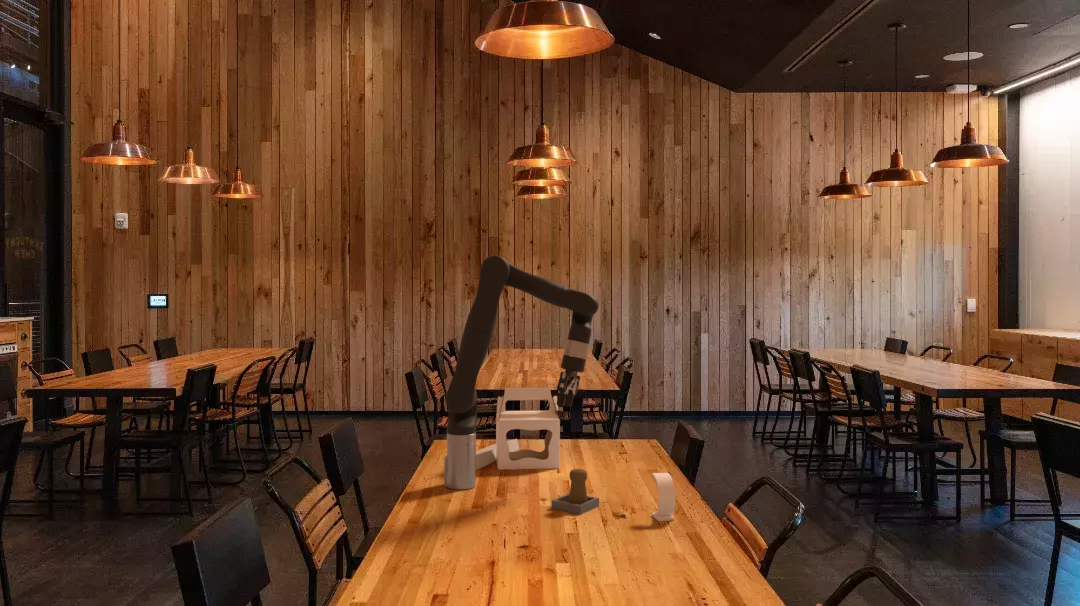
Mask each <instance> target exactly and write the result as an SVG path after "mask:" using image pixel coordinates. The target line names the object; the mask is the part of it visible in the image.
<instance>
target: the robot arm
mask: <svg viewBox="0 0 1080 606" xmlns="http://www.w3.org/2000/svg"><path fill="white" fill-rule="evenodd" d="M478 280H479V281H478V285H477V289H476V296H475V298H474V301H473V303H472V305H471V308H470V309H469V313H468V315H467V319H466V322H465V325H464V328H463V333H462V336H461V342H460V344H459V345H460V346H459V350H458V355H457V360H456V361H457V362H456V366H455V368H454V369H455V370H454V372H453V376H452V378H451V380H450V384H449V386H448V389H447V391H446V394H445V403H446V407H447V408H448V418H447V422H446V423H447V424H446V456H444V459H443V460H444V461H443V462H444V463H443V464H444V465H443V467H444V468H443V471H444V472H443V473H444V474H443V476H444V477H443V478H444V480H443V484H444V485H443V487H446V488H448V489H452V490H469V489H473V488H475V487H476V484H477V483H476V481H477V480H476V479H477V478H476V476H477V473H476V472H477V470H476V451H477V446H476V445H477V444H476V442H477V422H478V393H477V390H476V385H477V379H478V376H479V372H480V369H481V368H482V365H483V364H484V361H485V359H486V356H487V354H488V351H489V348H490V345H491V344H492V343H491V342H492V338H493V334H494V332H495V328H496V322H497V321H496V320H497V315H498V314H497V313H498V309H499V308H498V306H499V302H500V298H501V295H502V293H503V290H504V288H505V286H506V287H510V288H513V289H516V290H520V292H521V291H522V292H524V293H526V294H528V295H530V296H532V297H534V298H537V299H538V300H540V301H542V302H545V303H548V304H550V305H552V306H555V307H558V308H564V309H568V310H569V311H572V314H571V324H570V327H569V331H568V335H567V339H566V343H565V346H564V350H563V353H562V360H561V363H560V368H561V369H562V370H565V371H560V375H559V378H558V381H557V382H558V383H557V387H556V391H558V392H557V393H558V395H557V405H558V407H563V406H565V407H569V408H570V407H572V405H573V402H574V401H573V400H574V397H575V395H577V394H578V391H579V385H580V380H581V375H578V373H581V374H582V373H584V372H585V367H586V364H587V363H586V362H587V358H588V353H589V345H590V342H591V341H590V340H591V335H592V328H591V326H592V323H593V317H594V315H595V314H596V313H597V312H598V310H599V302H598V301H599V300H598V299H597V298H596V297H595V296H593V295H592V294H590V293H586V292H584V291H580V290H577V289H573V288H570V287H568V286H565V285H563V284H561V283H560V282H556V281H555V280H554V281H553V280H551V279H548V278H545V277H542V276H540V275H535V274H533V273H530V272H527V271H525V270H523V269H521V268H518V267H517V266H514V264H512V263H510V262H508V260H506V259H505V258H504V257H502V256H501V255H497V254H496V255H495V254H493V255H488V257H486V258H484V260H483V261H482V263H481V265H480V270H479V279H478Z"/></svg>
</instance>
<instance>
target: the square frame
mask: <svg viewBox="0 0 1080 606" xmlns="http://www.w3.org/2000/svg"><path fill="white" fill-rule="evenodd" d="M569 495H570V492H568V493H566V494H564V495H561V496H559V497H557V498H554V499H552V500H551V509H554V510H559V511H563V512H568V513H573V514H578V515H583V514H585V513H587V512H589V511H591V510H593V509H596V508H598V507H599V506H600V498H599V497H596V496H595V497H594V496H590V495H587V500H588V501H587V502H585V503H583V504H581V505H578V504H573V503H568V502H569Z"/></svg>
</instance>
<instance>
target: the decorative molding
mask: <svg viewBox="0 0 1080 606" xmlns="http://www.w3.org/2000/svg"><path fill="white" fill-rule="evenodd" d="M507 443H508V446H509V452H515V451H519V450H520V445H519V442H518V438H515V439H510V440H507ZM495 462H496V443H493V444H491V445H488V446H486V447H483V448H481V449H479V450H476V471H477V470H480V469H482V468H484V467H487V466H488V465H491V464H493V463H495Z"/></svg>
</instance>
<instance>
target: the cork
mask: <svg viewBox="0 0 1080 606" xmlns="http://www.w3.org/2000/svg"><path fill="white" fill-rule="evenodd" d="M587 479H588V473H587V471H586V470H585V469H582V468H574V469H571V470H570V471H569V480H570V488H569V493H570V495H569V502H568V503H573V504H578V505H581V504H583V503H585V502H587V501H588V500H587V496H588V493H587V491H588V490H587V485H586V481H587Z"/></svg>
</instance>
